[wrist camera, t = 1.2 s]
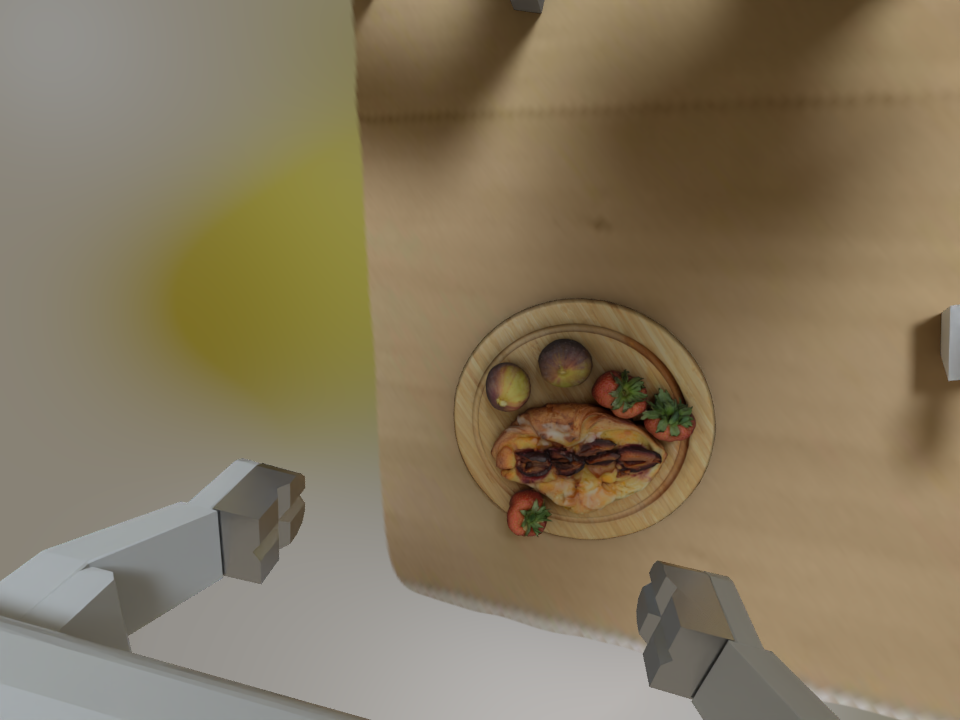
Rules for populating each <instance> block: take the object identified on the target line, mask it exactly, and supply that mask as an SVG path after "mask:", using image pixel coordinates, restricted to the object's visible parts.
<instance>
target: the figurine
mask: <svg viewBox="0 0 960 720" xmlns="http://www.w3.org/2000/svg"><path fill="white" fill-rule="evenodd" d="M941 358H942V361H943V365H944V368H945V371H946V375H947V378H948V381H954V380H960V305H953V306H950V307H948V308H947V309H946V310H945V311H943V312H942V318H941Z"/></svg>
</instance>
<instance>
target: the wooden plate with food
mask: <svg viewBox="0 0 960 720" xmlns="http://www.w3.org/2000/svg"><path fill="white" fill-rule="evenodd" d="M454 425H455V434H456V439H457V443H458V446H459V449H460V452H461V455H462V457H463V460H464V462H465V464H466V466H467V468H468V470H469V472H470V473H471V475H472V477H473V478H474V480H475V481H476V482H477V484H478V485H479V486H480V488H481V489H482V490H483V491H484V492H485V493H486V494H487V496H488V497H489V498H490V499H491V500H493V501H494V502H495V503H496V504H497V505H498V506H500V507H501V508H502V509H503V510H505V511H506V512H507V523H508V526H509V528H510V530H511V531H512V532H513V533H515V534H516V535H518V536H519V535H522V536H535V535H537V536H538V535H539V534H541V533H542V532H543V531H544V532H547V533H550V534H554V535H558V536H563V537H569V538H576V539H607V538H614V537H619V536H625V535H628V534H631V533H635V532H638V531H641V530H643V529H645V528H648V527H650V526H652V525H654V524H656V523H657V522H659V521H661V520H663V519H664V518H665V517H667V516H668V515H670V514H671V513H672V512H674V511H675V510H676V509H677V508H678V507H679V506H680V505H681V504H682V503H683V502H684V501H685V500H686V499H687V498H688V497H689V496H690V495H691V494H692V492H693V491H694V490H695V488H696V487H697V486H698V484H699V483H700V481H701V479H702V477H703V475H704V473H705V471H706V469H707V467H708V464H709V461H710V457H711V454H712V450H713V445H714V439H715V432H716V424H715V412H714V406H713V401H712V397H711V393H710V391H709V388H708V385H707V382H706V380H705V377H704V375H703V373H702V371H701V369H700V367H699V366H698V364H697V363H696V361H695V360H694V358H693V357H692V355H691V354H690V353H689V351H688V350H687V349H686V348H685V347H684V346H683V345H682V344H681V343H680V341H679V340H678V339H676V338H675V337H674V336H673V335H672V334H671V333H670V332H669V331H668V330H667V329H665V328H664V327H663V326H661V325H660V324H658V323H657V322H655V321H654V320H652V319H651V318H649V317H647V316H645V315H643V314H642V313H639V312H637V311H635V310H633V309H630V308H628V307H625V306H622V305H618V304H615V303H612V302H607V301H602V300H593V299H561V300H554V301H549V302H546V303H542V304H538V305H535V306H532V307H530V308H527V309H525V310H523V311H521V312H519V313H517V314H515V315H513V316H511V317H509V318H508V319H506V320H505V321H503V322H502V323H501V324H499V325H498V326H497V327H496V328H494V329H493V330H492V331H491V332H489V333H488V334H487V335H486V336H485V337H484V338H483V340H482V341H481V342H480V343H479V344H478V346H477V347H476V348H475V350H474V351H473V352H472V354H471V356H470V357H469V359H468V361H467V363H466V365H465V367H464V369H463V371H462V373H461V376H460V379H459V382H458V385H457V388H456V393H455V399H454Z"/></svg>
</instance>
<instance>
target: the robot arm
mask: <svg viewBox="0 0 960 720" xmlns="http://www.w3.org/2000/svg"><path fill="white" fill-rule="evenodd" d="M304 489H305V476H303V475H302V474H301V473H297V472H293V471H289V470H286V469H282V468H278V467H275V466H271V465H267V464H264V463H262V464H261V463H258V462H254V461H251V460H247V459H244V458H242V459H238V460H236V461H234V462H233V463H232V464H231V465H230V466H229V467H228V468H226V469H225V470H224V471H223V472H222V473H221V474H220V475H218V476H217V477H216V478H215V479H214V480H213V481H212V482H211V483H210V484H208V485H207V486H206V487H205V488H204V489H203V490H202V491H201V492H199V493H198V494H197V495H196V496H195V497H194V498H193V499H192V500H190V501H189V502H188V503H184V502H178V503H176V504H173V505H170V506H167V507H164V508H162V509H159V510H156V511H153V512H150V513H147V514H145V515H142V516H139V517H136V518H133V519H131V520H128V521H125V522H122V523H119V524H116V525H114V526H111V527H108V528H105V529H102V530H99V531H97V532H94V533H91V534H88V535H86V536H83V537H80V538H77V539H74V540H71V541H68V542H66V543H63V544H60V545H57V546H54V547H51V548H49V549H46V550H43V551H41V552H40V553H39V554H37V555H36V556H35V557H33V558H32V559H30V560H29V561H28V562H26V563H25V564H24V565H22V566H21V567H19V568H18V569H17V570H15V571H14V572H13V573H11V574H10V575H9V576H7V577H6V578H5V579H3V580H2V581H0V720H369V719H366V718H362V717H359V716H355V715H352V714H348V713H344V712H341V711H337V710H334V709H330V708H327V707H323V706H319V705H316V704H312V703H309V702H305V701H302V700H298V699H295V698H291V697H288V696H284V695H280V694H277V693H273V692H270V691H266V690H263V689H259V688H255V687H252V686H248V685H245V684H241V683H238V682H234V681H231V680H227V679H224V678H220V677H216V676H213V675H209V674H206V673H202V672H199V671H195V670H192V669H188V668H185V667H181V666H177V665H174V664H170V663H166V662H163V661H159V660H156V659H153V658H149V657H146V656H142V655H138V654H135V653H132V651H131V647H130V643H129V638H128V636H129V635H130V634H132V633H133V632H135V631H137V630H138V629H140V628H142V627H143V626H145V625H146V624H148V623H150V622H152V621H153V620H155V619H156V618H158V617H160V616H161V615H163V614H165V613H166V612H168V611H170V610H171V609H173V608H174V607H176V606H178V605H179V604H181V603H182V602H184V601H186V600H188V599H189V598H191V597H192V596H194V595H196V594H197V593H199V592H201V591H202V590H204V589H206V588H207V587H209V586H210V585H212V584H214V583H215V582H217V581H219V580H220V579H222V578H223V575H224V576H228V577H232V578H236V579H241V580H245V581H250V582H254V583H258V584H262V582H263V581H264V580H265V578H266V577H267V575H268V574H269V573H270V571H271V570H272V569H273V567H274V566H275V564H276V563H277V562H278V560H279V549H281V548H283V547H285V546H287V545H289V544H290V543H291V542H292V540H293V539H294V537H295V536H296V535H297V533H298V530H299V528H300V526H301V524H302V521H303V517H304V512H305V502H304V501H303V499H302V498H301V496H300V494H301V493H302V491H303V490H304ZM649 574H650V578H651V583H649V584H647V585H646V586H644V587H643V588H642V590H641V593H640V595H639V598H638V604H637V611H636V612H637V625H638V631H639V634H640V635H641V637H642V638H643V639H644V640H645V642H646V643H647V646H646V648H645V651H644V653H643V657H644V662H645V667H646V672H647V677H648V682H649V686H650V687H652V688H656V689H659V690H662V691H666V692H669V693H672V694H676V695H679V696H682V697H686V698H689V699H693V700H692V703H693V705H694V706H695V708H696V709H697V711H698V712H699V714H700V715H701V717H702V718H703V720H840V719H839V718H838V717H837V716H836V715H835V714H834V713H833V712H832V711H831V710H830V709H829V708H828V707H827V706H826V705H825V704H824V703H823V702H822V701H821V700H820V699H819V698H818V697H817V696H816V695H815V694H814V693H813V692H812V691H811V690H810V689H809V688H808V687H807V686H806V685H805V684H804V683H803V682H802V681H801V680H800V679H799V678H798V677H797V676H796V675H795V674H794V673H793V672H792V671H791V670H790V669H789V668H788V667H787V666H786V665H785V664H784V663H783V662H782V661H781V660H780V659H779V658H778V657H777V656H776V655H775V654H774V653H773V652H772V651H768V650H764V648H763V646H762V644H761V642H760V639H759V637H758V635H757V633H756V631H755V629H754V626H753V624H752V622H751V620H750V618H749V615H748V613H747V611H746V609H745V607H744V605H743V602H742V600H741V598H740V596H739V594H738V591H737V589H736V587H735V585H734V583H733V581H732V580H731V579H730V578H729V577H727V576H723V575H719V574H714V573H710V572H705V571H704V572H703V571H700V570H696V569H692V568H687V567H683V566H679V565H675V564H670V563H666V562H662V561H658V560H657V561H656V562H655V563H654V564H653V566H652V568H651V570H650V572H649Z"/></svg>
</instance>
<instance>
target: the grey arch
mask: <svg viewBox="0 0 960 720" xmlns="http://www.w3.org/2000/svg"><path fill="white" fill-rule="evenodd" d="M510 1H511V3H512V6H513V8H514V10H521V11H528V12H535V13H542V9H543V4H544V0H510Z"/></svg>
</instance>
